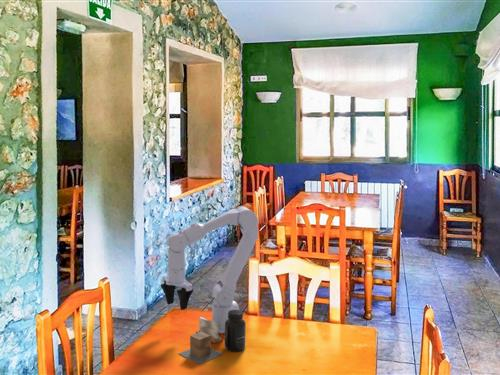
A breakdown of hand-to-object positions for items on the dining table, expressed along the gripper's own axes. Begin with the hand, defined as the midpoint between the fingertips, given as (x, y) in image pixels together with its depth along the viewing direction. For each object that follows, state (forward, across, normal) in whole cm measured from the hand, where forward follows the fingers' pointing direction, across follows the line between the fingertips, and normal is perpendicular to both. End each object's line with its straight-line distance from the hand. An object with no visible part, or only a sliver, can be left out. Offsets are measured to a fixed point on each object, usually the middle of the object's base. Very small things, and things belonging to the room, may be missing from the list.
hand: (176, 306), depth 177 cm
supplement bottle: (+10, +23, +6) cm, 26 cm away
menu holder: (+9, +11, +5) cm, 15 cm away
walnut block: (+9, +19, -5) cm, 22 cm away
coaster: (+9, +19, -5) cm, 22 cm away
